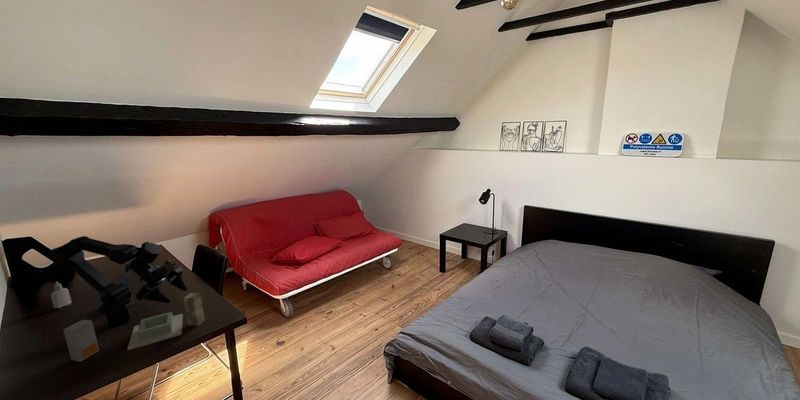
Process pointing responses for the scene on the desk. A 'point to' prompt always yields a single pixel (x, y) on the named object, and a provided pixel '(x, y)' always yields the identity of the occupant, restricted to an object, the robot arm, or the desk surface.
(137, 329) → the socket board
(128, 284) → the label tape cartridge
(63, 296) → the eye dropper bottle
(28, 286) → the desk surface
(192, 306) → the ash peg
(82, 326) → the skincare box
